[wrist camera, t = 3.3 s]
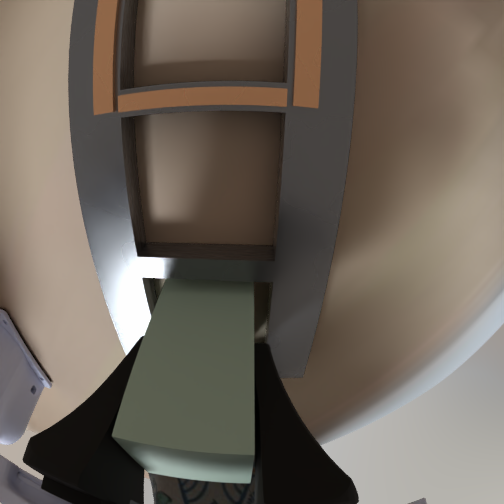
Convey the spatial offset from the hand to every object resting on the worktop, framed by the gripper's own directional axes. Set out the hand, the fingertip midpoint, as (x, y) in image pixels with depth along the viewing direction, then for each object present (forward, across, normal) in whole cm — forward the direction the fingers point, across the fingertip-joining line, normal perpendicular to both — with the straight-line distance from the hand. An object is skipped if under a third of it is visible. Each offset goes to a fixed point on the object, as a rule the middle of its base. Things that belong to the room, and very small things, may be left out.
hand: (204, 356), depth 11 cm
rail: (+3, 0, -6) cm, 7 cm away
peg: (+3, 0, 0) cm, 3 cm away
